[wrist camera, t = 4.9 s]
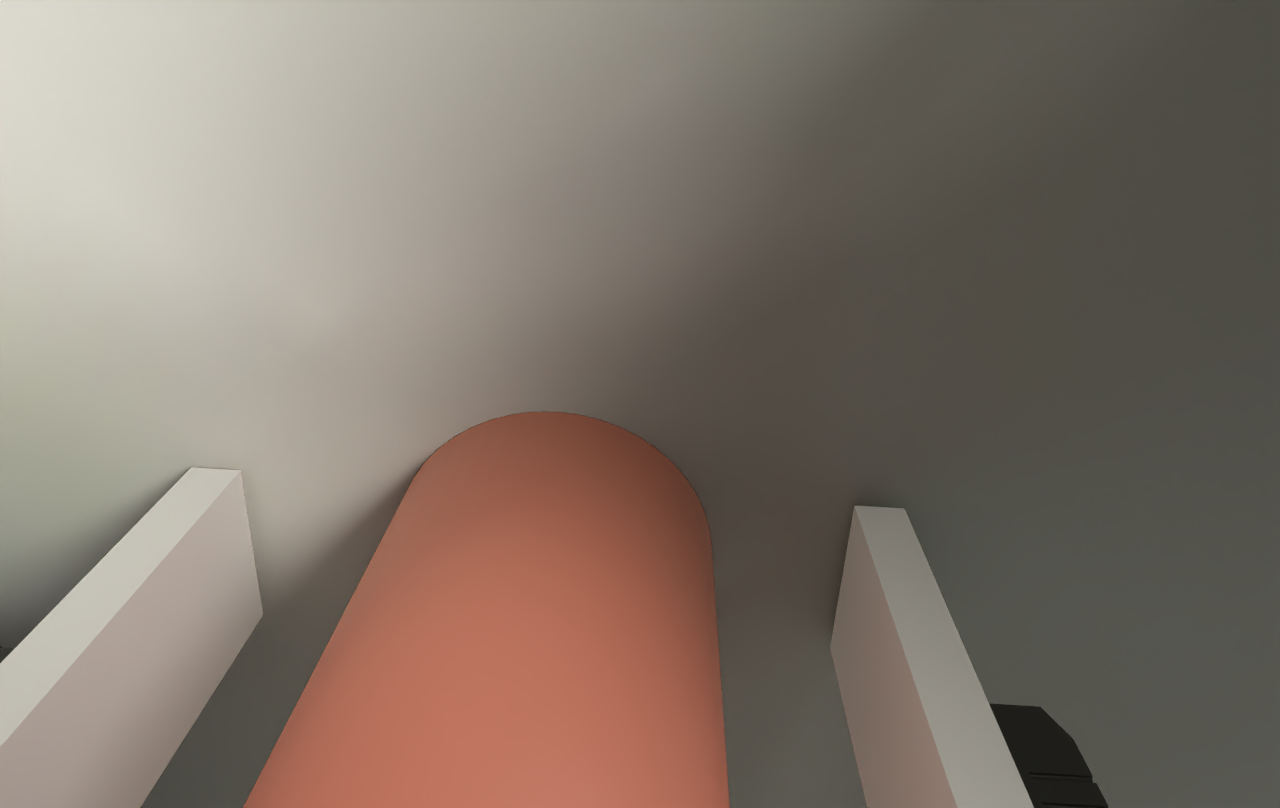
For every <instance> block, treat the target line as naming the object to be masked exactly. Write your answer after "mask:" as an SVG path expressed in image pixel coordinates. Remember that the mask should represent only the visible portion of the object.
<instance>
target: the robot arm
mask: <svg viewBox="0 0 1280 808" xmlns="http://www.w3.org/2000/svg"><path fill="white" fill-rule="evenodd" d="M262 616H263V610H262V604H261V597H260V591H259V585H258V578H257V572H256V565H255V559H254V552H253V546H252V540H251V533H250V527H249V520H248V514H247V507H246V501H245V495H244V488H243V482H242V475H241V470H228V469H211V468H193V467H191V468H190V469H189V470H188V471H187V472H186V473H185V474H184V475H183V476H182V477H181V478H180V479H179V480H178V481H177V482H176V484H175V485H174V486H173V487H172V488H171V489H170V490H169V491H168V492H167V493H166V494H165V495H164V496H163V497H162V498H161V499H160V500H159V501H158V502H157V503H156V504H155V505H154V506H153V507H152V508H151V509H150V510H149V511H148V512H147V513H146V514H145V515H144V516H143V517H142V518H141V519H140V520H139V521H138V523H137V524H136V525H135V526H134V527H133V528H132V529H131V530H130V531H129V532H128V533H127V534H126V535H125V536H124V537H123V538H122V539H121V540H120V541H119V542H118V543H117V544H116V545H115V546H114V547H113V548H112V549H111V550H110V551H109V552H108V553H107V554H106V555H105V556H104V557H103V558H102V559H101V560H100V562H99V563H98V564H97V565H96V566H95V567H94V568H93V569H92V570H91V571H90V572H89V573H88V574H87V575H86V576H85V577H84V578H83V579H82V580H81V581H80V582H79V583H78V584H77V585H76V586H75V587H74V588H73V589H72V590H71V591H70V592H69V593H68V594H67V595H66V596H65V597H64V598H63V599H62V601H61V602H60V603H59V604H58V605H57V606H56V607H55V608H54V609H53V610H52V611H51V612H50V613H49V614H48V615H47V616H46V617H45V618H44V619H43V620H42V621H41V622H40V623H39V624H38V625H37V626H36V627H35V628H34V629H33V630H32V631H31V632H30V633H29V634H28V635H27V636H26V637H25V639H24V640H23V641H22V642H21V643H20V644H19V645H18V646H17V647H16V648H15V649H14V648H0V808H140V807H141V806H142V804H143V803H144V801H145V799H146V798H147V796H148V795H149V793H150V792H151V790H152V789H153V787H154V785H155V784H156V782H157V781H158V779H159V778H160V776H161V774H162V773H163V771H164V770H165V768H166V767H167V765H168V763H169V762H170V760H171V759H172V757H173V756H174V754H175V752H176V751H177V749H178V748H179V746H180V745H181V743H182V741H183V740H184V738H185V737H186V735H187V734H188V732H189V730H190V729H191V727H192V726H193V724H194V723H195V721H196V719H197V718H198V716H199V715H200V713H201V712H202V710H203V709H204V707H205V705H206V704H207V702H208V701H209V699H210V698H211V696H212V694H213V693H214V691H215V690H216V688H217V687H218V685H219V683H220V682H221V680H222V679H223V677H224V676H225V674H226V672H227V671H228V669H229V668H230V666H231V665H232V663H233V661H234V660H235V658H236V657H237V655H238V654H239V652H240V650H241V649H242V647H243V646H244V644H245V643H246V641H247V639H248V638H249V636H250V635H251V633H252V632H253V630H254V629H255V627H256V625H257V624H258V622H259V621H260V619H261V618H262ZM830 650H831V654H832V659H833V663H834V667H835V672H836V676H837V680H838V685H839V689H840V693H841V697H842V702H843V706H844V710H845V715H846V719H847V723H848V728H849V732H850V736H851V740H852V745H853V749H854V753H855V758H856V762H857V766H858V771H859V775H860V779H861V783H862V788H863V792H864V796H865V801H866V805H867V808H1108V805H1107V803H1106V801H1105V799H1104V797H1103V795H1102V793H1101V791H1100V789H1099V788H1098V786H1097V784H1096V783H1093V781H1092V774H1091V772H1090V770H1089V768H1088V766H1087V765H1086V763H1085V761H1084V759H1083V757H1082V755H1081V753H1080V751H1079V749H1078V747H1077V745H1076V744H1075V742H1074V740H1073V739H1072V738H1071V737H1070V736H1069V735H1068V734H1067V733H1066V732H1065V731H1064V730H1063V729H1062V728H1061V727H1060V726H1059V725H1058V724H1057V723H1056V722H1055V721H1054V720H1053V719H1052V718H1051V717H1050V716H1049V715H1048V714H1047V713H1046V712H1045V711H1044V710H1043V709H1042V708H1041V707H1035V706H1019V705H1002V704H989V703H988V700H987V698H986V696H985V693H984V691H983V689H982V686H981V684H980V682H979V679H978V677H977V675H976V672H975V670H974V668H973V666H972V663H971V661H970V659H969V656H968V654H967V652H966V649H965V647H964V645H963V642H962V640H961V638H960V635H959V633H958V631H957V629H956V626H955V624H954V622H953V619H952V617H951V615H950V612H949V610H948V608H947V605H946V603H945V601H944V599H943V596H942V594H941V592H940V589H939V587H938V585H937V582H936V580H935V578H934V575H933V573H932V571H931V568H930V566H929V564H928V562H927V559H926V557H925V555H924V552H923V550H922V548H921V545H920V543H919V541H918V538H917V536H916V534H915V532H914V529H913V527H912V525H911V522H910V520H909V518H908V515H907V513H906V511H905V508H888V507H871V506H854V511H853V517H852V523H851V529H850V534H849V540H848V546H847V552H846V558H845V564H844V570H843V575H842V581H841V587H840V593H839V599H838V605H837V611H836V616H835V622H834V628H833V634H832V640H831V646H830Z"/></svg>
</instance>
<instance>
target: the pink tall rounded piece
mask: <svg viewBox="0 0 1280 808" xmlns="http://www.w3.org/2000/svg"><path fill="white" fill-rule="evenodd" d="M243 808H730V803H729V788H728V774H727V759H726V745H725V730H724V716H723V701H722V686H721V672H720V657H719V643H718V628H717V614H716V599H715V585H714V570H713V555H712V543H711V536H710V529H709V525H708V522H707V518H706V515H705V512H704V509H703V507H702V505H701V503H700V501H699V499H698V496H697V494H696V493H695V491H694V490H693V488H692V487H691V485H690V483H689V482H688V480H687V479H686V477H685V476H684V475H683V474H682V473H681V472H680V471H679V469H678V468H677V467H676V466H675V465H674V464H673V463H672V462H671V461H670V460H669V459H668V458H667V457H666V456H664V455H663V454H662V453H661V452H660V451H659V450H658V449H656V448H655V447H653V446H652V445H650V444H649V443H648V442H646V441H645V440H643V439H642V438H640V437H638V436H636V435H634V434H633V433H631V432H629V431H627V430H625V429H623V428H621V427H618V426H616V425H613V424H610V423H607V422H605V421H602V420H599V419H595V418H591V417H587V416H582V415H578V414H570V413H562V412H528V413H520V414H512V415H508V416H504V417H500V418H496V419H492V420H489V421H486V422H484V423H481V424H479V425H476V426H474V427H471V428H469V429H468V430H466V431H464V432H462V433H460V434H458V435H457V436H455V437H453V438H452V439H451V440H449V441H448V442H447V443H445V444H444V445H443V446H441V447H440V448H439V449H438V450H437V451H436V452H435V453H434V454H433V455H432V456H431V457H430V458H429V459H428V460H427V461H426V462H425V463H424V464H423V465H422V467H421V468H420V469H419V471H418V472H417V474H416V475H415V476H414V478H413V480H412V482H411V484H410V486H409V487H408V489H407V491H406V493H405V495H404V497H403V499H402V501H401V503H400V505H399V507H398V509H397V511H396V513H395V515H394V516H393V518H392V520H391V522H390V524H389V526H388V528H387V530H386V532H385V534H384V536H383V538H382V540H381V542H380V543H379V545H378V547H377V549H376V551H375V553H374V555H373V557H372V559H371V561H370V563H369V565H368V567H367V569H366V571H365V572H364V574H363V576H362V578H361V580H360V582H359V584H358V586H357V588H356V590H355V592H354V594H353V596H352V598H351V600H350V601H349V603H348V605H347V607H346V609H345V611H344V613H343V615H342V617H341V619H340V621H339V623H338V625H337V627H336V628H335V630H334V632H333V634H332V636H331V638H330V640H329V642H328V644H327V646H326V648H325V650H324V652H323V654H322V656H321V657H320V659H319V661H318V663H317V665H316V667H315V669H314V671H313V673H312V675H311V677H310V679H309V681H308V683H307V685H306V686H305V688H304V690H303V692H302V694H301V696H300V698H299V700H298V702H297V704H296V706H295V708H294V710H293V712H292V714H291V715H290V717H289V719H288V721H287V723H286V725H285V727H284V729H283V731H282V733H281V735H280V737H279V739H278V741H277V742H276V744H275V746H274V748H273V750H272V752H271V754H270V756H269V758H268V760H267V762H266V764H265V766H264V768H263V770H262V771H261V773H260V775H259V777H258V779H257V781H256V783H255V785H254V787H253V789H252V791H251V793H250V795H249V797H248V799H247V800H246V802H245V804H244V806H243Z"/></svg>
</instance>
